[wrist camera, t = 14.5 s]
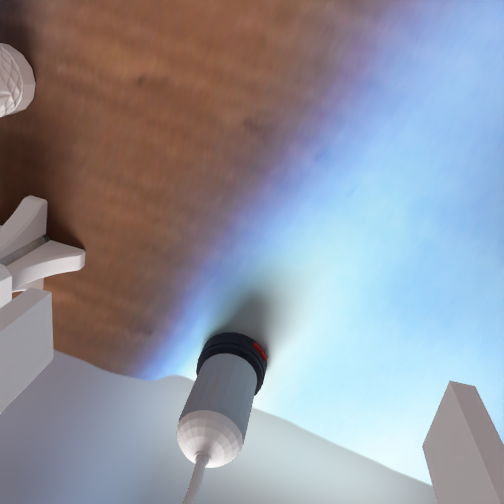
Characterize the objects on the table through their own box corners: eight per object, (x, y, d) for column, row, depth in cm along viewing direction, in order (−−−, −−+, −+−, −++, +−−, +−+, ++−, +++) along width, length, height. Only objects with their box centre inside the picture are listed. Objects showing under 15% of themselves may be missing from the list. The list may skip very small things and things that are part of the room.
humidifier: (276, 346, 51) (237, 564, 28) (254, 397, 54) (203, 628, 32) (212, 322, 51) (121, 519, 28) (193, 373, 55) (99, 587, 32)
